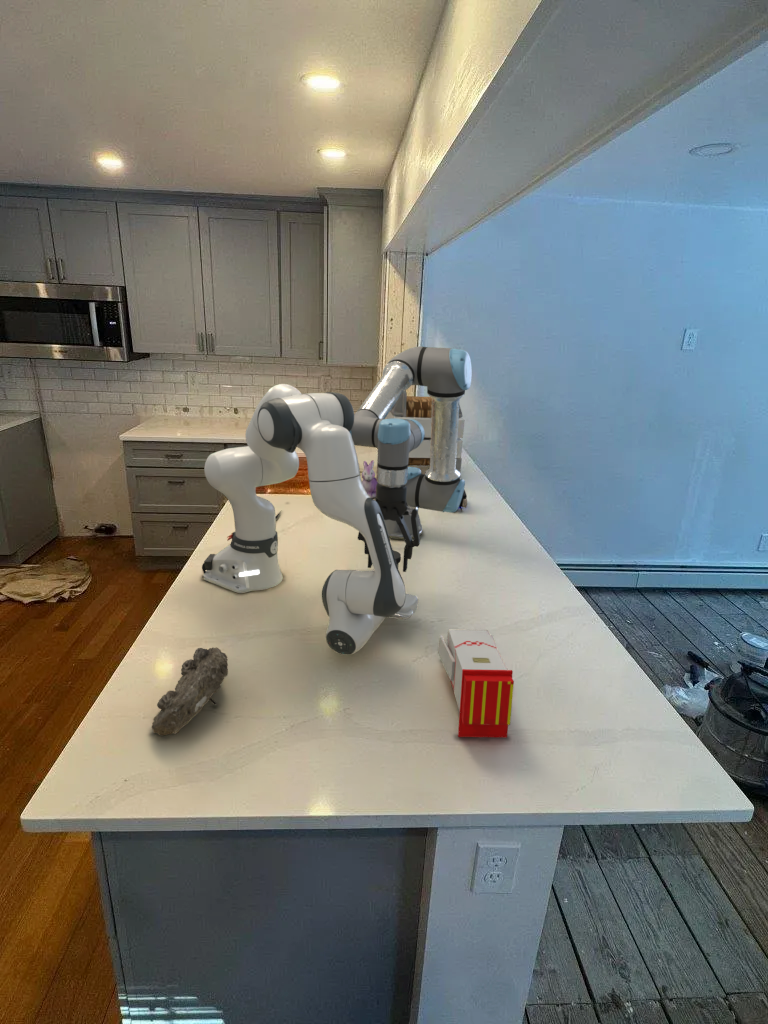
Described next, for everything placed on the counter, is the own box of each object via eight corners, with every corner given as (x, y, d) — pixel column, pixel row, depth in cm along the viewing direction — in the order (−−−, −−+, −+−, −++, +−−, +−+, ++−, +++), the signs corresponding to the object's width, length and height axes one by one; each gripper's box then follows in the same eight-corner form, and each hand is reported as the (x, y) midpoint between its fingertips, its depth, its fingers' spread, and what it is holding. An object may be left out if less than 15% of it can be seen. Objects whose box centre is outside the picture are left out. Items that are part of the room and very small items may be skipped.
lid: (400, 555, 148) (401, 550, 148) (400, 566, 142) (401, 560, 142) (376, 554, 148) (376, 548, 148) (374, 564, 142) (375, 559, 142)
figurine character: (467, 516, 223) (461, 500, 237) (469, 499, 220) (463, 483, 233) (450, 516, 223) (446, 499, 236) (452, 498, 220) (447, 483, 233)
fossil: (179, 649, 121) (229, 617, 116) (211, 678, 124) (260, 649, 119) (128, 729, 101) (185, 695, 96) (167, 762, 104) (224, 731, 99)
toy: (488, 613, 130) (523, 677, 101) (484, 667, 133) (517, 744, 104) (435, 612, 130) (455, 676, 101) (432, 666, 133) (451, 743, 103)
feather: (288, 505, 226) (290, 501, 226) (271, 529, 199) (273, 524, 199) (284, 503, 226) (287, 499, 225) (266, 526, 199) (269, 522, 199)
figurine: (365, 500, 232) (366, 464, 227) (354, 493, 241) (355, 458, 236) (385, 497, 237) (387, 463, 231) (374, 490, 245) (375, 457, 240)
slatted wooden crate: (382, 463, 289) (386, 382, 275) (445, 464, 293) (451, 384, 279) (390, 482, 257) (394, 392, 243) (460, 483, 261) (468, 394, 247)
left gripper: (409, 607, 132) (426, 583, 144) (330, 590, 138) (352, 568, 151) (407, 631, 134) (424, 605, 146) (329, 612, 141) (352, 589, 153)
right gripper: (436, 483, 140) (430, 566, 148) (353, 475, 143) (351, 557, 151) (433, 492, 133) (426, 578, 141) (345, 483, 136) (343, 568, 144)
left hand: (387, 586), depth 149 cm, fingers closed on jar, 5 cm apart
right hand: (387, 567), depth 146 cm, fingers open, 8 cm apart
